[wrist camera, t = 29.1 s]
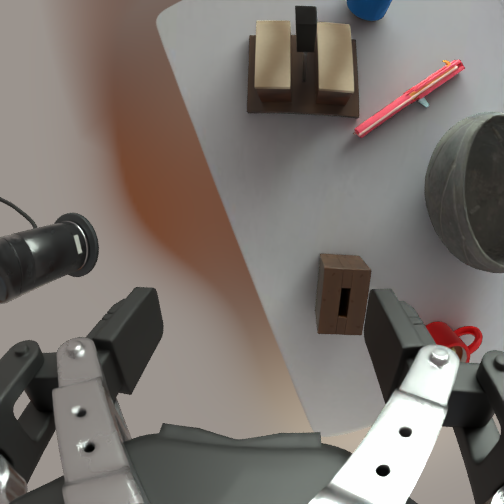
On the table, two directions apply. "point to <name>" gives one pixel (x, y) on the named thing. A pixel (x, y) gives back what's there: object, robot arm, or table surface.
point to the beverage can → (369, 8)
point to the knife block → (341, 294)
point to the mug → (455, 338)
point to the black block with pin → (305, 32)
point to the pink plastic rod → (411, 97)
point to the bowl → (470, 191)
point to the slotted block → (291, 72)
